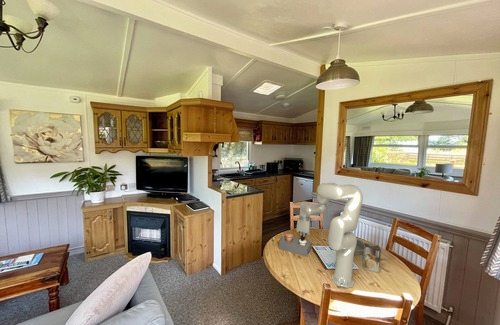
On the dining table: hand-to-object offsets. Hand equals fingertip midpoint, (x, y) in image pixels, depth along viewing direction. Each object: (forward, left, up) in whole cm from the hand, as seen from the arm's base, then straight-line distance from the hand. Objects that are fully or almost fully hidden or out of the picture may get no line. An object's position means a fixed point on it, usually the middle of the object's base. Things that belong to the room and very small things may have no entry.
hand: (302, 240), depth 162 cm
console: (0, +5, -8) cm, 10 cm away
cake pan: (+26, -32, -9) cm, 42 cm away
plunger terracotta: (0, +11, -4) cm, 12 cm away
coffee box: (+3, -47, -9) cm, 48 cm away
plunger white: (0, 0, -6) cm, 6 cm away
